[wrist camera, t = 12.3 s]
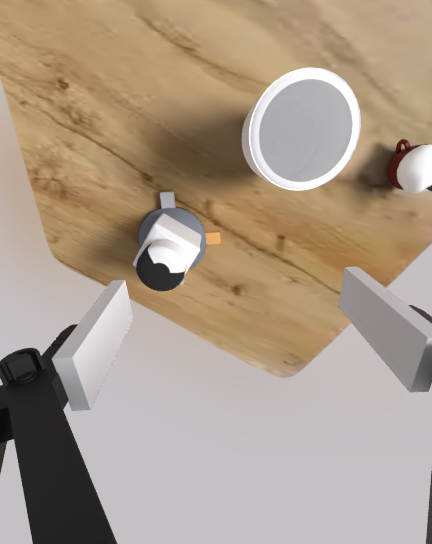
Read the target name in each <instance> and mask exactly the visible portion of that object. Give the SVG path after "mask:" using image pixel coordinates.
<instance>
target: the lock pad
mask: <svg viewBox="0 0 432 544" xmlns="http://www.w3.org/2000/svg"><path fill="white" fill-rule="evenodd" d="M160 199H161V206H162V208H160V209H157V210H155V211H154V212H152V213H151V214H150V215H149V216H148V217H147V218H146V219H145V220H144V222H143V223H142V225H141V227H140V230H139V235H138V241H139V247H140V249H141V247H142V245H143V243H144V241H145V239H146V237H147V236H148V234H149V232H150V230H151V228H152V226H153V224H154V223H155V222H156V221H157V219H158V218H159V217H160V216H161V214H163V213H164V214H166V215H168V216H170V217H171V218H173V219H175V220H176V221H178V222H180V223H182V224H183V225H185V226H187V227H188V228H190V229H192V230H193V231H195V232H197V233H199V234H200V235H201V236H202V238H201V247H200V252H199V253H198V255H197V256H196V258H195V260H194V261H193V263H192V264H191V266H190V268H189V269H191V268H193V267H194V266H195V265H196V264H197V263H198V262H199V261H200V260H201V258H202V257H203V255H204V253H205V249H206V245H211V244H220V231H216V232H205V229H204V227H203V225H202V223H201V222H200V220H199V219H198V218H197V217H196V216H195V215H194V214H192V213H191V212H189V211H188V210H186V209H183V208H180V207H176V205H175V196H174V191H167V192H160ZM189 269H188V270H189ZM181 284H184V278H183V280H182V282H181V283H180V284H179V285H181Z"/></svg>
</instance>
